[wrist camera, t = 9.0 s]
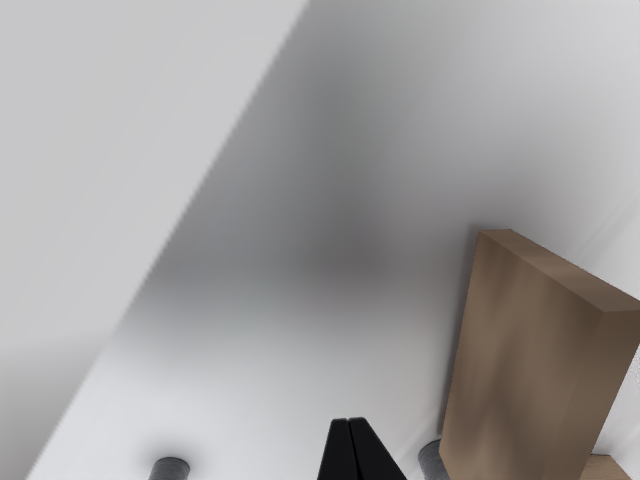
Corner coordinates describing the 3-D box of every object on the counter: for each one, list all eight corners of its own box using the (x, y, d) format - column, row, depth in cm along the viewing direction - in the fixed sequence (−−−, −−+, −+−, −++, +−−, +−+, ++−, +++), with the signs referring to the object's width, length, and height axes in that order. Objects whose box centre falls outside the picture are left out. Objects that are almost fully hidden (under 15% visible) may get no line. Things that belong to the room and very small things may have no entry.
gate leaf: (461, 449, 16) (529, 590, 12) (438, 451, 16) (497, 594, 12) (510, 229, 12) (654, 308, 7) (479, 230, 12) (603, 311, 7)
